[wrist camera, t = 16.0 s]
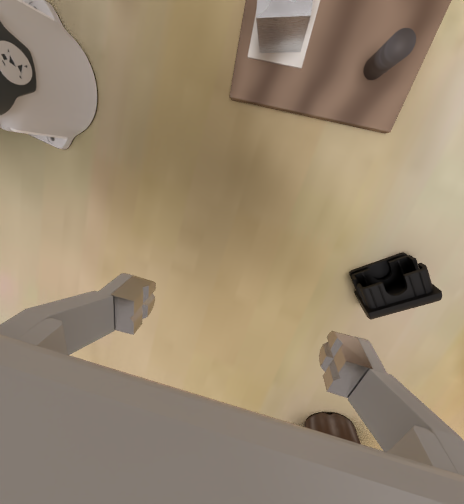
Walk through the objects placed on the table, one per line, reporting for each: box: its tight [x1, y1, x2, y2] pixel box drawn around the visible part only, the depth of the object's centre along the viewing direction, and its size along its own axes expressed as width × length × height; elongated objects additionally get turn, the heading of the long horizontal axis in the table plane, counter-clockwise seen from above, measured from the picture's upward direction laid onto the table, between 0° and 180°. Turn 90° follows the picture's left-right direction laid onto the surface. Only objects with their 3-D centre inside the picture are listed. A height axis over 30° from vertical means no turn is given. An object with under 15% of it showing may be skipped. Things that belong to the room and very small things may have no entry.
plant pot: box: [305, 412, 361, 444], centre depth 49 cm, size 16×16×16 cm
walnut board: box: [230, 0, 451, 133], centre depth 24 cm, size 22×14×8 cm, turn 78°
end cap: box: [349, 253, 442, 319], centre depth 35 cm, size 10×7×7 cm
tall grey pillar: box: [256, 0, 313, 53], centre depth 22 cm, size 5×5×8 cm
